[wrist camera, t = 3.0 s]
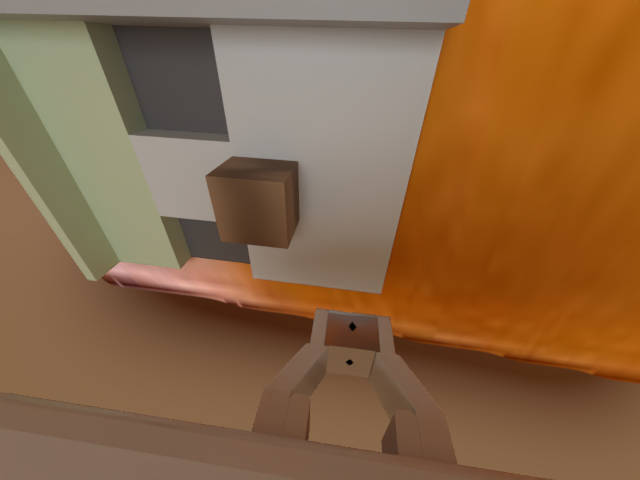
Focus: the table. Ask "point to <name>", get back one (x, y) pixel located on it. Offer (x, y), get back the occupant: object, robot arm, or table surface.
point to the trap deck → (219, 123)
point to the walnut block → (255, 200)
